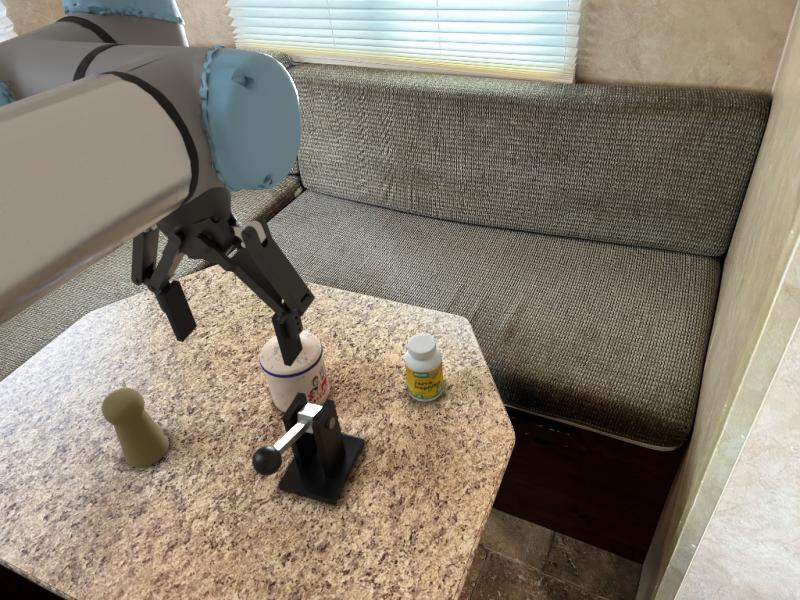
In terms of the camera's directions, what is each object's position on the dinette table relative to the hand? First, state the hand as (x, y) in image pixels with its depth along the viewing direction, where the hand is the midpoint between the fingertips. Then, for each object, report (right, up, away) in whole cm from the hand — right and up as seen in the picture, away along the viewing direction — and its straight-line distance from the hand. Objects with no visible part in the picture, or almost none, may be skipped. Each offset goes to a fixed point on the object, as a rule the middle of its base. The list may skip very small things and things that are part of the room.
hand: (238, 345), depth 66 cm
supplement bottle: (+21, -9, +25) cm, 34 cm away
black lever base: (+7, -17, +16) cm, 25 cm away
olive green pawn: (-18, -16, +20) cm, 32 cm away
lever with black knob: (+5, -13, +5) cm, 15 cm away
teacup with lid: (+3, -9, +27) cm, 29 cm away
